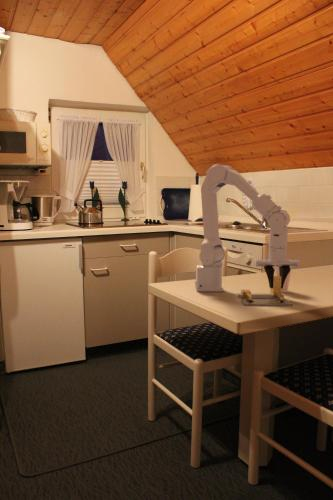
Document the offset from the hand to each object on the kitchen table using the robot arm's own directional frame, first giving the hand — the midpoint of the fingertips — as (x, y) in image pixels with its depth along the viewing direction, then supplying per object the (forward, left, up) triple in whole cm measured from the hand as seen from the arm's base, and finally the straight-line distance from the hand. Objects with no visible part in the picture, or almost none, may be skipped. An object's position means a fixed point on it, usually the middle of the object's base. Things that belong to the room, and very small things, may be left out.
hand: (276, 287), depth 139 cm
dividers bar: (-5, -3, -3) cm, 7 cm away
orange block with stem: (0, -3, -3) cm, 4 cm away
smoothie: (+5, +10, -4) cm, 11 cm away
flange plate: (-5, -7, -3) cm, 9 cm away
